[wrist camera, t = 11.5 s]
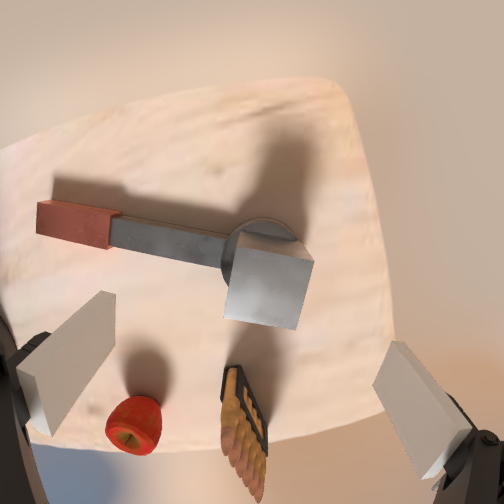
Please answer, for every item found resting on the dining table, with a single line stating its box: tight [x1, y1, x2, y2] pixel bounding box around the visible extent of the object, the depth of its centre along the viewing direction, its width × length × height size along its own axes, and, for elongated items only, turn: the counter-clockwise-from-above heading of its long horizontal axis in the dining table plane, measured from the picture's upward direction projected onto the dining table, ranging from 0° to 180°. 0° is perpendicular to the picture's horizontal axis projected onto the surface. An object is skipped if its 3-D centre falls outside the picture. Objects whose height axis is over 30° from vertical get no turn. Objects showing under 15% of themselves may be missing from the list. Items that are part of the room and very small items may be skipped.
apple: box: [105, 396, 162, 456], centre depth 30 cm, size 6×6×8 cm
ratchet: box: [36, 200, 298, 287], centre depth 25 cm, size 26×7×6 cm, turn 79°
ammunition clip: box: [220, 365, 268, 503], centre depth 27 cm, size 11×2×12 cm, turn 17°
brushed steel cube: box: [223, 230, 314, 330], centre depth 23 cm, size 5×5×6 cm
